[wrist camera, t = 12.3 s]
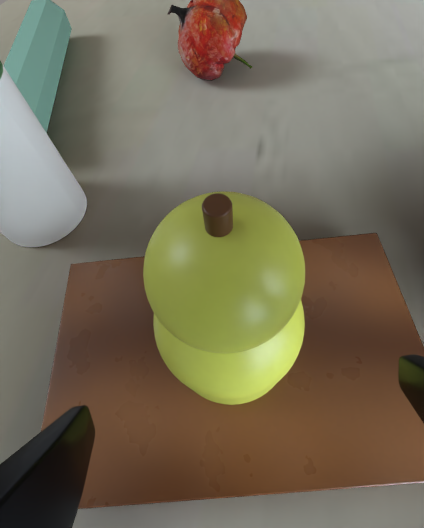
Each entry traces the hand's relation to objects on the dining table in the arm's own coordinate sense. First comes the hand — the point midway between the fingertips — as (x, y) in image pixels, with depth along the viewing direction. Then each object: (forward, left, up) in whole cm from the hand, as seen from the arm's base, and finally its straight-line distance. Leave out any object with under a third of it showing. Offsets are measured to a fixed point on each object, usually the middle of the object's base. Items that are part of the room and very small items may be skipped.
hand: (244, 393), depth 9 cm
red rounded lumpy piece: (+35, -1, -10) cm, 36 cm away
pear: (+3, 0, -7) cm, 8 cm away
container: (+35, +18, -10) cm, 40 cm away
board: (+3, 0, -10) cm, 10 cm away
